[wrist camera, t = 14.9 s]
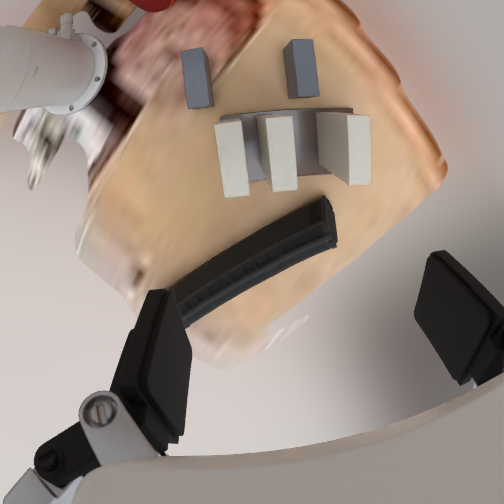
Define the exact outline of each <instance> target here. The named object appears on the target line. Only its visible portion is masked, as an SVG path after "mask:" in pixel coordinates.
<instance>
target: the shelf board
mask: <svg viewBox="0 0 504 504" xmlns="http://www.w3.org/2000/svg"><path fill="white" fill-rule="evenodd" d="M316 112H338V113H350V114H353V108H314V109H290V110H275V111H263V112H253V113H244V114H236V115H228V116H221V117H220V121H221V120H228V119H235V118H239V119H240V120H241V123H242V131H243V139H244V147H245V155H246V164H247V172H248V180H249V181H257V180H266V179H267V178H266V176H265V174H264V172H263V169H262V163H261V154H260V144H259V135H258V126H257V118H256V116H263V115H274V114H276V115H286V116H292V119H293V130H294V141H295V154H296V168H297V176H307V175H319V174H333V173H331V172H330V171H328V170H327V169H326V168H324V167H323V166H321V165H320V164H319V155H318V139H317V124H316Z"/></svg>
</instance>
